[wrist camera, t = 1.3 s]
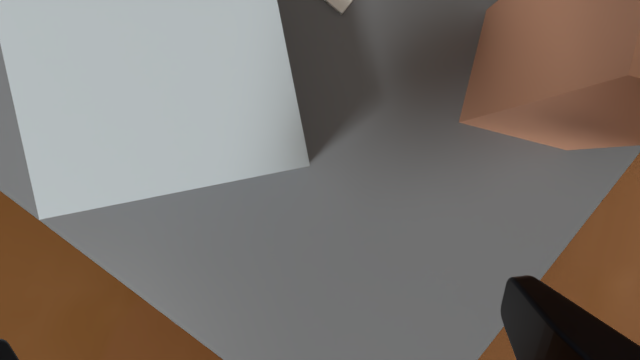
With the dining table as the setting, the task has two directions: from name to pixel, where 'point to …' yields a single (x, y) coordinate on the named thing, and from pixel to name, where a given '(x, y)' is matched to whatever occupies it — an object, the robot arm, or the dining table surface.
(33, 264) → the dining table surface
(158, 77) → the base block
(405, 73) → the board
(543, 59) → the pillar block
